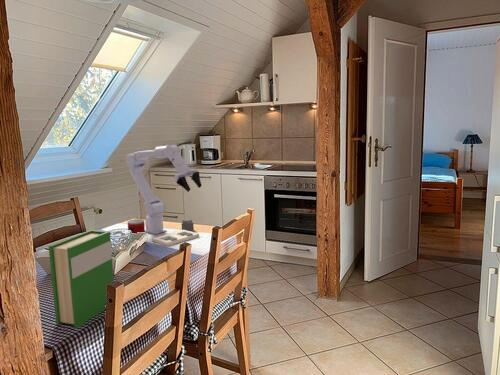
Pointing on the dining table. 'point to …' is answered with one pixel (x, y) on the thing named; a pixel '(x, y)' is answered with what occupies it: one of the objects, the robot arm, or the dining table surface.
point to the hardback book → (81, 276)
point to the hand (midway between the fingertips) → (194, 188)
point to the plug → (187, 225)
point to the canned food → (136, 225)
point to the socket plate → (175, 237)
